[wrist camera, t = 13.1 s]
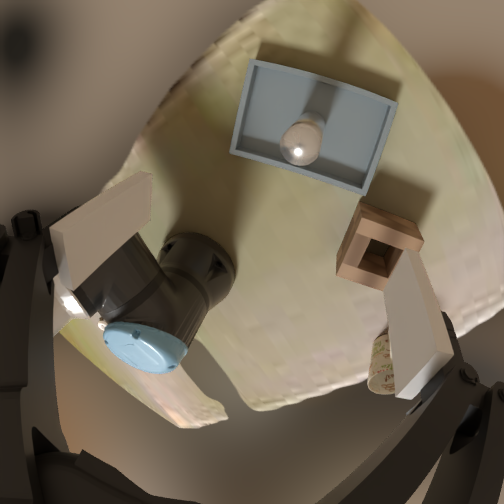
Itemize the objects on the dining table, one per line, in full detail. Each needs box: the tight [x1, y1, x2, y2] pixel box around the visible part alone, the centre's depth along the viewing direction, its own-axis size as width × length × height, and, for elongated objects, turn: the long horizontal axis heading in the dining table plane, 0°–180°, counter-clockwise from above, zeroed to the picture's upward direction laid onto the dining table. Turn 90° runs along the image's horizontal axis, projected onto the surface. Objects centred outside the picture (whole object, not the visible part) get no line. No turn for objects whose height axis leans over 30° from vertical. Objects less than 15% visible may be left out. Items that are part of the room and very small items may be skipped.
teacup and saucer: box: [98, 319, 108, 330], centre depth 76 cm, size 9×8×4 cm
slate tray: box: [229, 59, 398, 196], centre depth 38 cm, size 20×14×3 cm
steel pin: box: [280, 111, 325, 166], centre depth 32 cm, size 4×4×16 cm
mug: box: [368, 330, 395, 394], centre depth 51 cm, size 8×13×10 cm, turn 17°
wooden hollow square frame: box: [336, 201, 424, 291], centre depth 43 cm, size 10×10×6 cm
